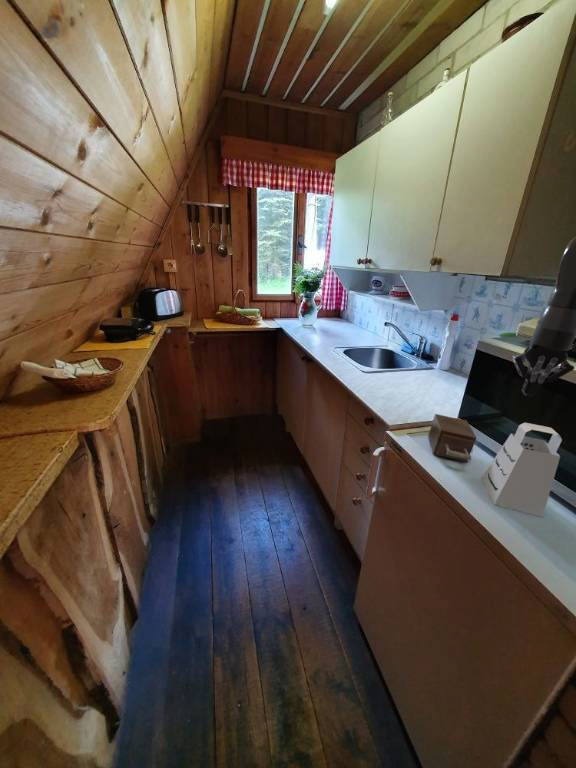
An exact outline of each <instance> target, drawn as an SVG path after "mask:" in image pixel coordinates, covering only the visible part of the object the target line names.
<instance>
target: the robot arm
mask: <svg viewBox="0 0 576 768" xmlns="http://www.w3.org/2000/svg"><path fill="white" fill-rule="evenodd" d="M575 338H576V236H575V237H573V239H572V240H570V242H569V243H568V244H567V245H566V247H565V249H564V252H563V254H562V256H561V260H560V263H559V266H558V271H557V275H556V280H555V285H554V287H553V289H552V291H551V293H550V295H549V298H548V301H547V302H546V306H545V308H544V309H543V311H542V312H541V315H540V317H539V319H538V320H537V324H536V327H535V329H534V332H533V334H532V336H531V339H530V341H529V344H528V346H527V347H526V348H525V349H524V350H523V352H522V353H519V354H512V355H511V359H512V362H513V364H514V366H515V368H516V371H517V373H518V375H519V376H521V377H522V379H525V381H524V383H523V385H522V388H521V392H522V394H523V395H524V396H526V397H531V398H532V397H534V396H536V395H537V394H538V392H539V390H540V387H541V385H542V384H543V383H549V384H550V383H553V382H554V381H556V380H558V379H560V378H561V377H564V376H565V375H567V374H569V373H570V372H571V371H573V370H575V366H574V365H572V364H570V362H569V361H568V357H569V356H568V352H569V350H570V349H571V347H572V346H573V344H574V342H575ZM525 362H527V364H528V366H527V368H526V366H525V364H524V363H525Z"/></svg>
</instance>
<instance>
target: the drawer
mask: <svg viewBox="0 0 576 768" xmlns="http://www.w3.org/2000/svg"><path fill="white" fill-rule="evenodd" d="M473 445H475V443H474V440H471V439H468V438H464V437H457V436H453V435H448V434H446V433H442V436H441V439H440V442H439V445H438V448H437V451H436V454H437V455H436V456H438V455H441V456H440V457H442V456H445V457H444V458H446V457H449V458H448V459H450V458H453V459H452V460H454V459H457V460H456V461H459V460H462V461H461V462H463V461H466V462H465V463H468V461H470V460H471V459H472V455H471V454H470V452H471V453H472V451H473V448H474V446H473ZM472 447H473V448H472ZM471 450H472V451H471ZM467 460H468V461H467Z"/></svg>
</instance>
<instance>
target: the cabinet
mask: <svg viewBox="0 0 576 768" xmlns="http://www.w3.org/2000/svg"><path fill="white" fill-rule="evenodd" d="M442 433H446V434H450V435H455V436H459V437H464V438H468V439H471V440H474V445H475V443H476V441H477V436H476V434H475V432H474V431H473V428H472V427H471V425H470V424H469V422H468V420H467V419H461V418H456V417H452V416H447V415H442V414H437V413H435V414H434V416H433V420H432V423H431V425H430V430H429V432H428V436H427V437H428V442H429V444H430V448H431V452H432V455H434V456H438V457H442V458H446V459H451V460H454V461H459V462H463V463H467V462H468V461H469V460H467V462H466V461H462V460H457V459H453V458H449V457H445V456H441V455H437V454H436V451H437V448H438V445H439V442H440V439H441V436H442ZM474 445H473V447H472V450H471V452H470V455H471V454H472V451H473V448H474Z"/></svg>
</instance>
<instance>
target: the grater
mask: <svg viewBox="0 0 576 768" xmlns="http://www.w3.org/2000/svg"><path fill="white" fill-rule="evenodd" d="M530 431H536V432H537V431H538V432H542V433H547V434H552V435H551V437H550V439H549V441H548V442H547V441H546V440H544V439H539V438H536V437H530V436H526V434H527V432H530ZM562 441H563V439H562V437H561V435H560V434H559V433H558V432H556V431H555V429H553V428H552V427H549V426H544V425H539V424H535V423H529V422H523V423H521V424H519V425H518V427H517V429H516V431H515V433H510V434H509V436H508V437H507V439H506V440H505V442H504V443H503V445H502V446H501V448H500V450H499V451H498V453H497V454H496V456H495V457H494V458H493V460H492V462H491V463H490V465H489V466H488V467H487V469H486V471H485V472H484V473H483V475H482V477H481V482H482V483H483V485H484V487H485V489H486V491H487V493H488V496H489V498H490V499H491V501H492V503H493V505H494V506H498V507H502V508H506V509H511V510H514V511H518V512H522V513H526V514H529V515H533V516H538V517H542V518H543V517H544V514H545V510H546V507H547V504H548V500H549V498H550V497H549V496H550V494H551V491H552V487H553V483H554V479H555V476H556V472H557V469H558V467H559V462H560V459H561V456H560V454H559V453H557V451H558V449H559V447H560V445H561V443H562ZM525 444H527V445H525ZM530 445H532V446H530ZM506 453H507V454H506ZM499 467H500V468H499ZM492 483H493V484H492ZM493 485H494V486H493ZM494 487H495V488H496V489H495V488H494Z"/></svg>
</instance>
